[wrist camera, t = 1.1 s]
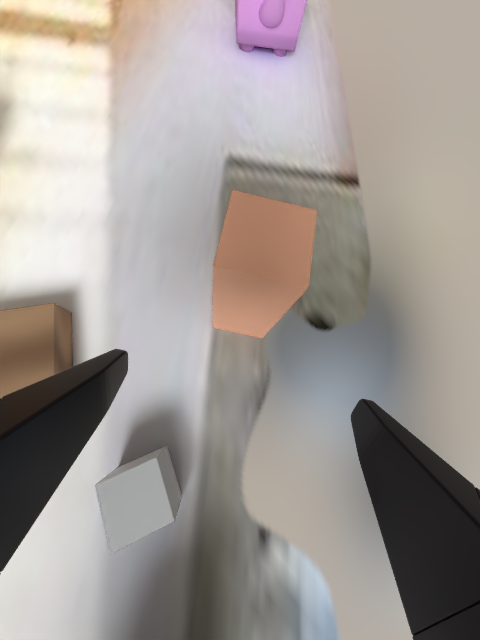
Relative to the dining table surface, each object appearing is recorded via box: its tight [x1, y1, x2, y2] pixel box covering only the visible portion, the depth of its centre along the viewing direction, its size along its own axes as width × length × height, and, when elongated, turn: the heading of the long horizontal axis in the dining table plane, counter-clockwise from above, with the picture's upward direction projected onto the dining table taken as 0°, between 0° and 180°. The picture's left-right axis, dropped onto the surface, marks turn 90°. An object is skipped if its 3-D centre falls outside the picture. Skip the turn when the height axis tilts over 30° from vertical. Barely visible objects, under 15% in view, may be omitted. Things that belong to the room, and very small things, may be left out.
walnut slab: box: [0, 303, 73, 399], centre depth 19 cm, size 9×9×3 cm
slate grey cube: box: [95, 445, 182, 555], centre depth 17 cm, size 4×4×4 cm
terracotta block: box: [213, 190, 317, 338], centre depth 18 cm, size 5×5×12 cm
